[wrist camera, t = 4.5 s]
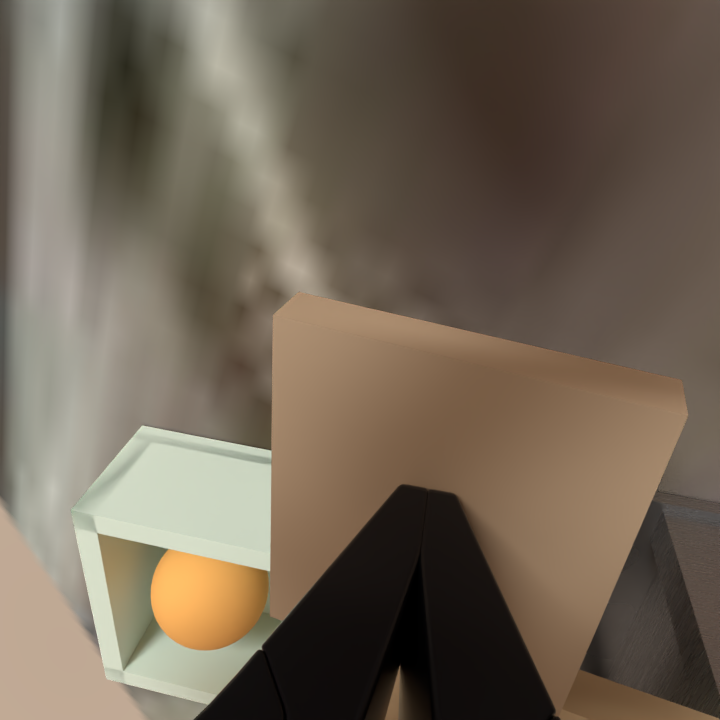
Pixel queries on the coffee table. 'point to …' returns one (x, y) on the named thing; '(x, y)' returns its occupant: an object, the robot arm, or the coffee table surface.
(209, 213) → the coffee table surface
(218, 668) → the mint cubby shelf
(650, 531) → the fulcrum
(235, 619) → the ball
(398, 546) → the robot arm
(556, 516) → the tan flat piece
